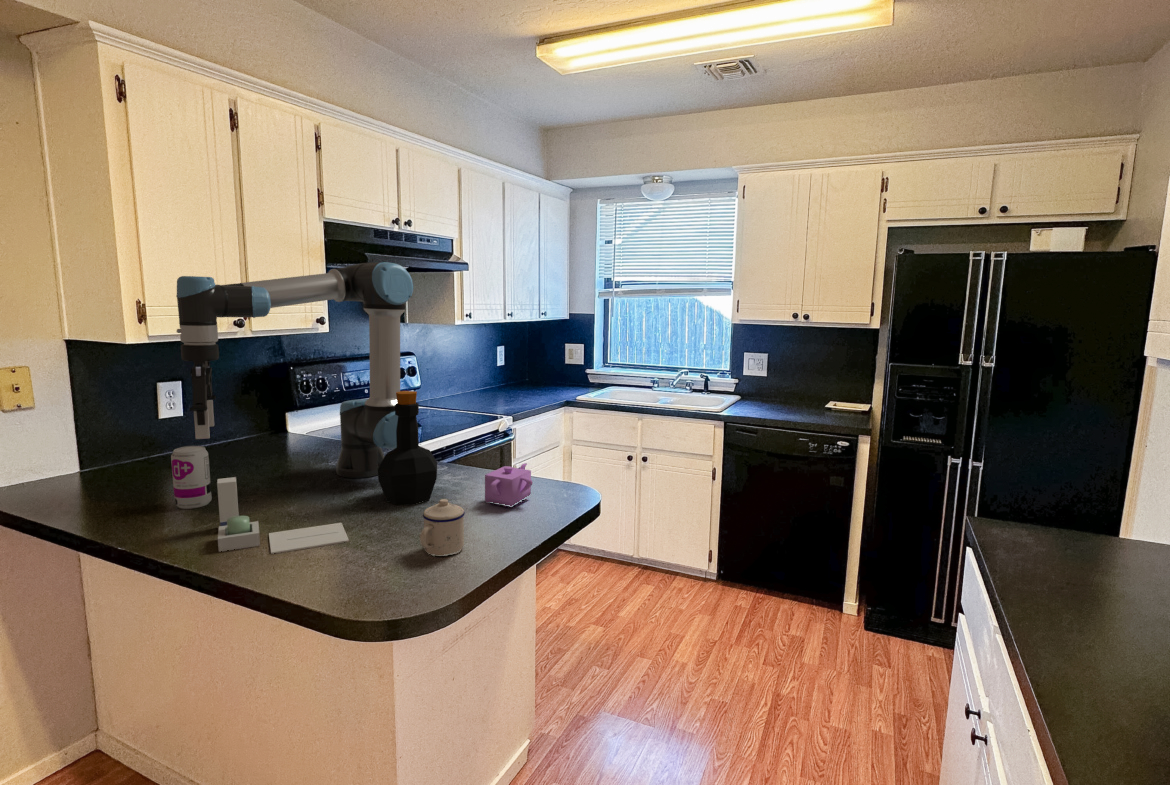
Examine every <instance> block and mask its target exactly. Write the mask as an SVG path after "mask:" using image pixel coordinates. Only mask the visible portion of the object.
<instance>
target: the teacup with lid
mask: <svg viewBox="0 0 1170 785" xmlns="http://www.w3.org/2000/svg"><path fill="white" fill-rule="evenodd" d="M465 514H466V513H465V510H464V509H463V507H462V506H459V505H457V504H453V503H451V502H449V500H448V499H447V498H442V499H440V500H439V501H438V503H436V504H434V505H432V506H429V507H427V508H426V509H424V510H423V514H422V517H423V529H422V530H421V531H420V536H419V540H420V544H421V546H422V547H423V548H424V552H425V551H426V552H427V553H430V554H435V555H444V554H450V553H454V552H457V551H459V550H460V549H462V548H463V546H464V545H465V544H464V542H465V541H464V540H465V538H464V537H465V534H464V532H465V530H464V527H465V525H464V524H465V523H464V522H465V521H464V518H465V517H464V516H465ZM464 547H465V546H464ZM463 549H464V548H463ZM426 552H425V553H426ZM427 553H426V554H427Z"/></svg>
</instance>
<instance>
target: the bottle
mask: <svg viewBox="0 0 1170 785" xmlns="http://www.w3.org/2000/svg"><path fill="white" fill-rule="evenodd" d="M417 395H418V391H415V390H400V392H396V397H397V403H396V404H395V415H397V416H398V421H397V429H396V441H397V447H396V448H395V449H390V451H387V453H386V454H385V455H384V459H383V461H382V462H381V464H380V466H379V468H378V475H377V480H378V483H379V486H380V488H381V491H382V493H383V496H384V498H385V501H386V502H387V501H388V502H387V503H390V504H392V505H395V506H398V505H399V506H401V505H402V506H403V505H404V504H415V505H417V504H416V503H418V504H420V503H419V502H421V503H423V502H422V501H424V502H426V501H425V500H427V501H429V500H428V499H431V496H432V494H433V491H434V488H435V485H436V481H437V477H438V461H437V460H436V457H435V456H434V455H433V453H432V451H431V450H430V449H428V448H425V447H423V446H419V444H420V440H419V439H420V438H419V425H418V419H417V416H418V415H419V413H420V412H419V410H420V409H419V405H420V404H419V402H417ZM404 506H405V505H404Z"/></svg>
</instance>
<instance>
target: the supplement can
mask: <svg viewBox="0 0 1170 785" xmlns="http://www.w3.org/2000/svg"><path fill="white" fill-rule="evenodd" d="M170 461H171V462H170V464H171V472H172V473H171V474H172V483H173V484H172V487H173V496H174V505H175V507H177V508H179V509H182V510H190V509H198V508H202V507H205V506H207V505H209V504H210V502H212V500H213V499H212V486H211V474H210V470H211V469H210V459H209V452H208V451H207V450H206V447H205V446H202V445H186V446H182V447H177V448H175V449H173V451H172V453H171V455H170Z"/></svg>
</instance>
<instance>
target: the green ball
mask: <svg viewBox="0 0 1170 785" xmlns="http://www.w3.org/2000/svg"><path fill="white" fill-rule="evenodd" d="M250 522H251V521H250V517H249V516H248V515H239V516H235V517H231V518H229V519H228V520H227V529H228V535H234V534H241V533H248V532H250Z"/></svg>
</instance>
